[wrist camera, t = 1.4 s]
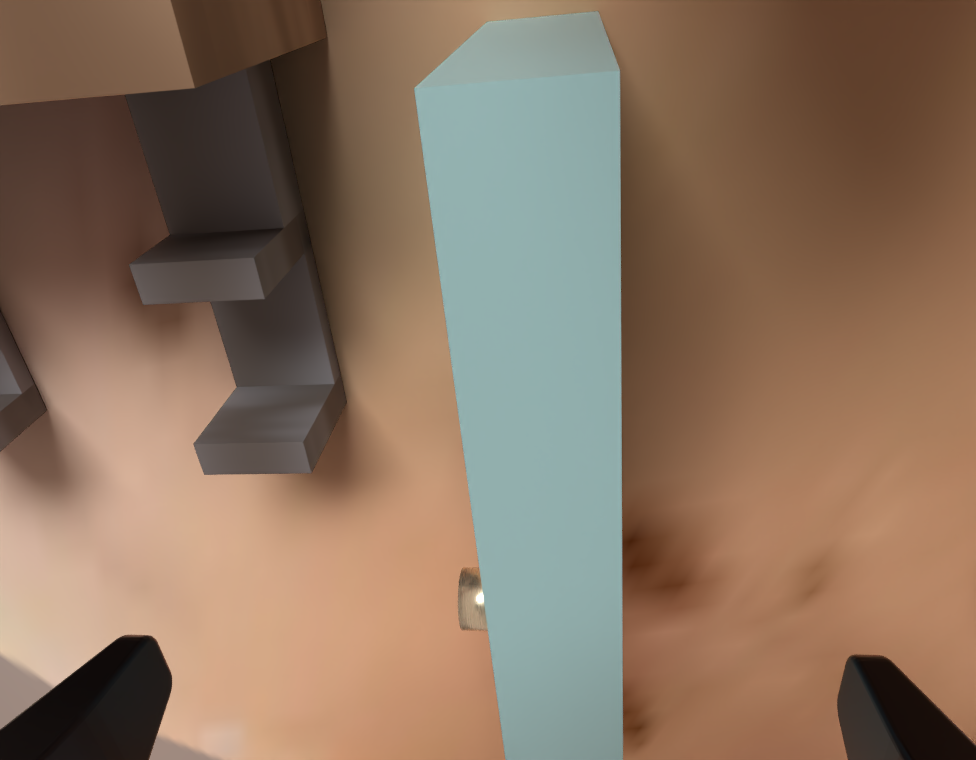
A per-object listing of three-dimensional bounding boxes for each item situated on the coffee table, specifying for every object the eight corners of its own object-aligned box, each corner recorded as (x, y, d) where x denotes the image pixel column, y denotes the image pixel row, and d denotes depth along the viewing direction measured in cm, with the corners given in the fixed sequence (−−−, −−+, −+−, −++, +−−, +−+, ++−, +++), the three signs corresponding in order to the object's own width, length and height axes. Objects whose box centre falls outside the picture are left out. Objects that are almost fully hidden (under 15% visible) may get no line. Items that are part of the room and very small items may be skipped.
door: (444, 25, 17) (335, 95, 9) (598, 10, 16) (620, 70, 9) (497, 500, 24) (461, 766, 16) (606, 500, 23) (622, 772, 16)
